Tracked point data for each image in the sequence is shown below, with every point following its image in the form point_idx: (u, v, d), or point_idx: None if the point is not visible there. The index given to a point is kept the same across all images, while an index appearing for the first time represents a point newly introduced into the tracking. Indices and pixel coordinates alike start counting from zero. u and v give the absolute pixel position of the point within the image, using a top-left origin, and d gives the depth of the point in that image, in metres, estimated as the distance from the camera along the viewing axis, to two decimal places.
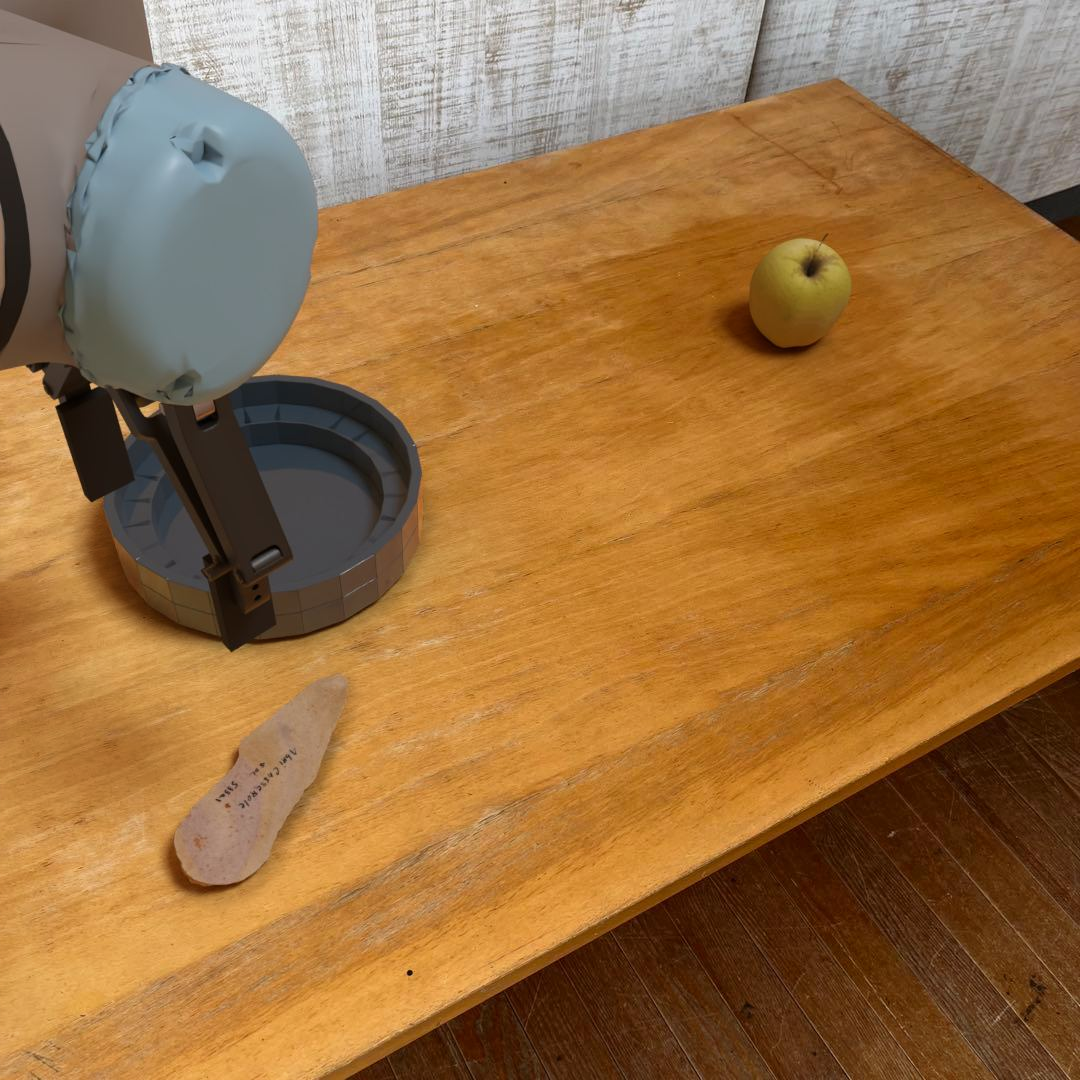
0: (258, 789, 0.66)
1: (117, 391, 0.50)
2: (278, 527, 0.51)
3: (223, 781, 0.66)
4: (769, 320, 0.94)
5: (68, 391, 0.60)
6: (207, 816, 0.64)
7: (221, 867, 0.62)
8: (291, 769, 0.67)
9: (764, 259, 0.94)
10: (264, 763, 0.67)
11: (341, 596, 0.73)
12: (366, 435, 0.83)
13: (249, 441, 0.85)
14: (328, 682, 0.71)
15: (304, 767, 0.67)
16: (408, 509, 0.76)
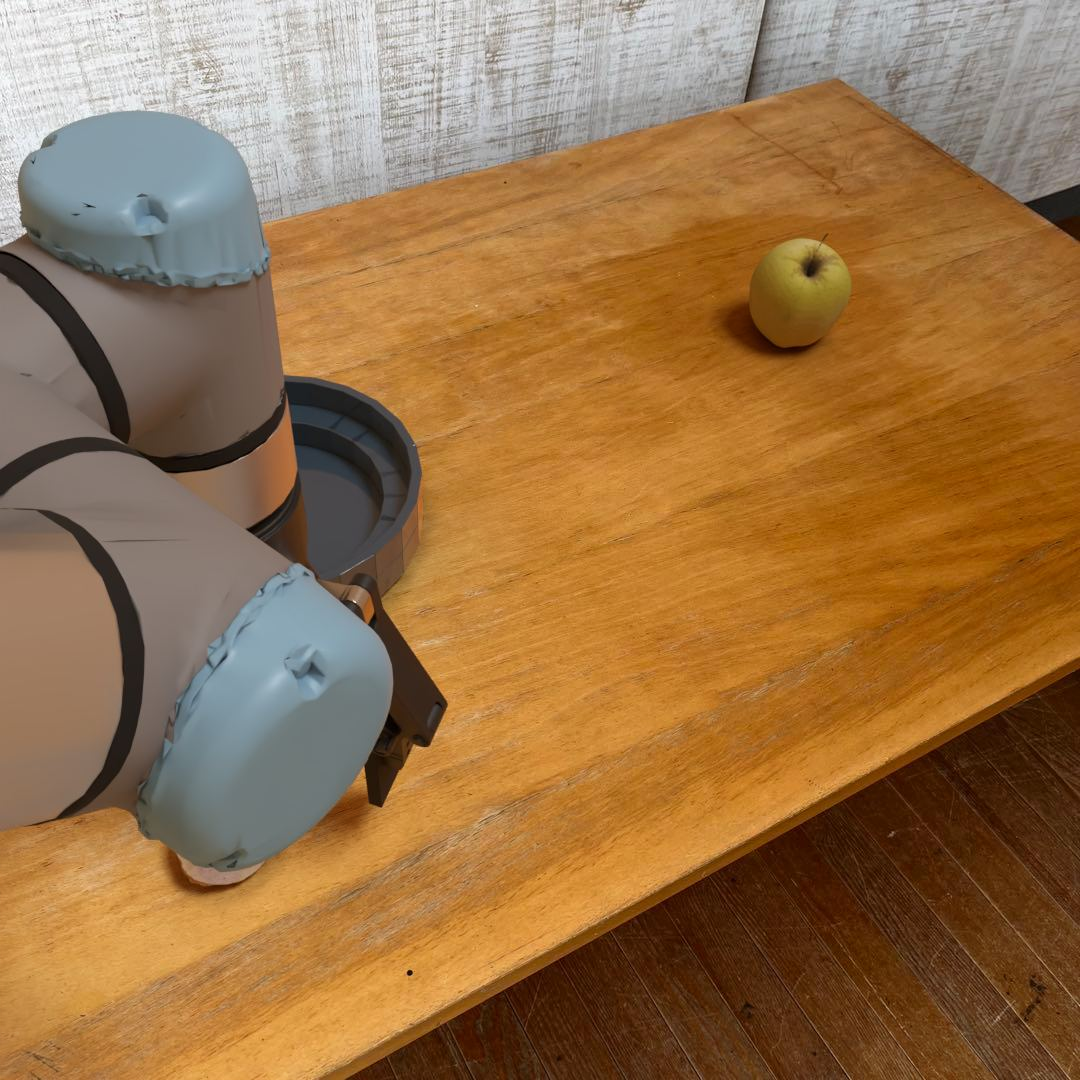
0: None
1: None
2: (434, 686, 0.57)
3: None
4: (769, 320, 0.94)
5: None
6: None
7: None
8: None
9: (764, 259, 0.94)
10: None
11: None
12: (366, 435, 0.83)
13: None
14: None
15: None
16: (408, 509, 0.76)
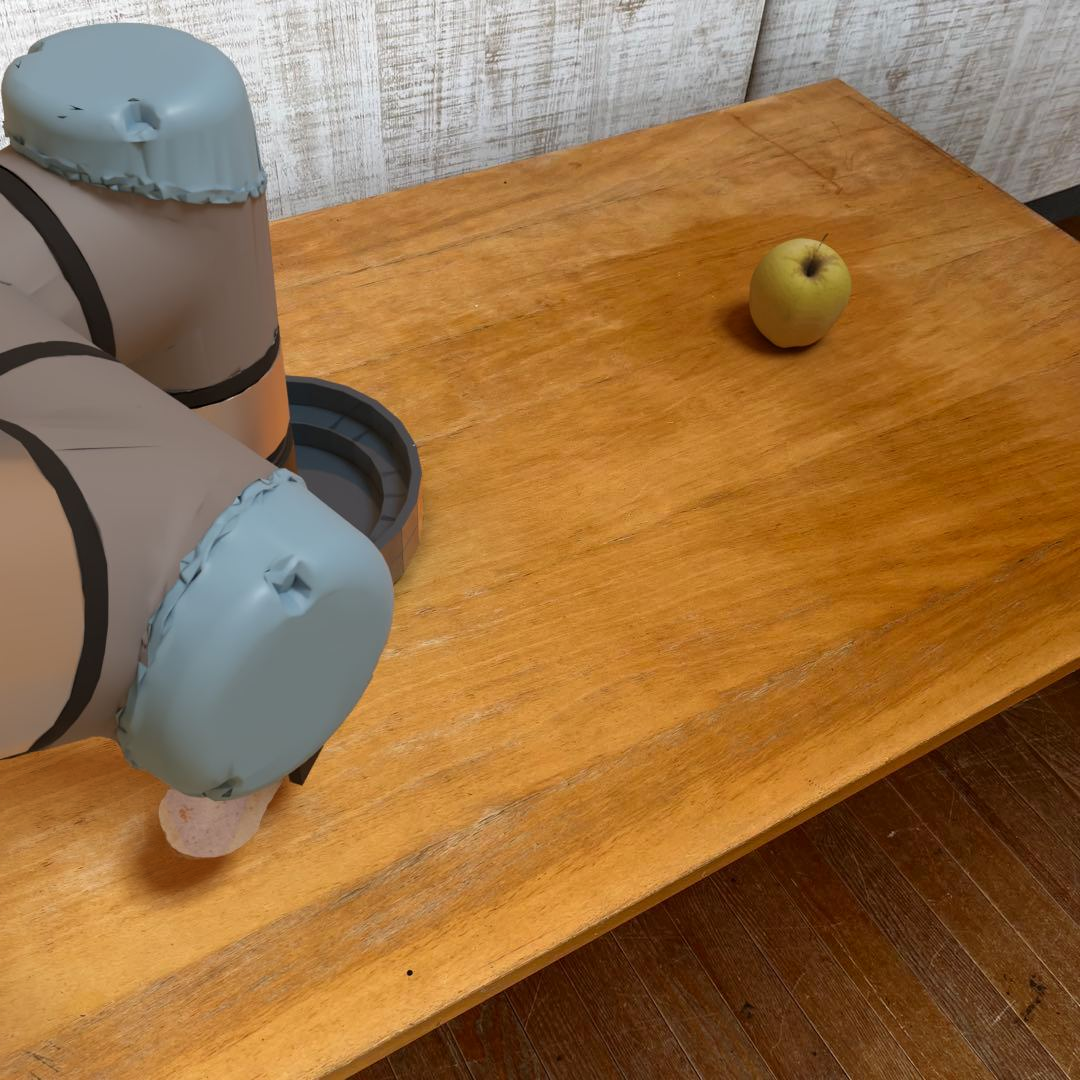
0: None
1: None
2: None
3: None
4: (769, 320, 0.94)
5: None
6: None
7: (208, 840, 0.59)
8: None
9: (764, 259, 0.94)
10: None
11: None
12: (366, 435, 0.83)
13: None
14: None
15: None
16: (408, 509, 0.76)
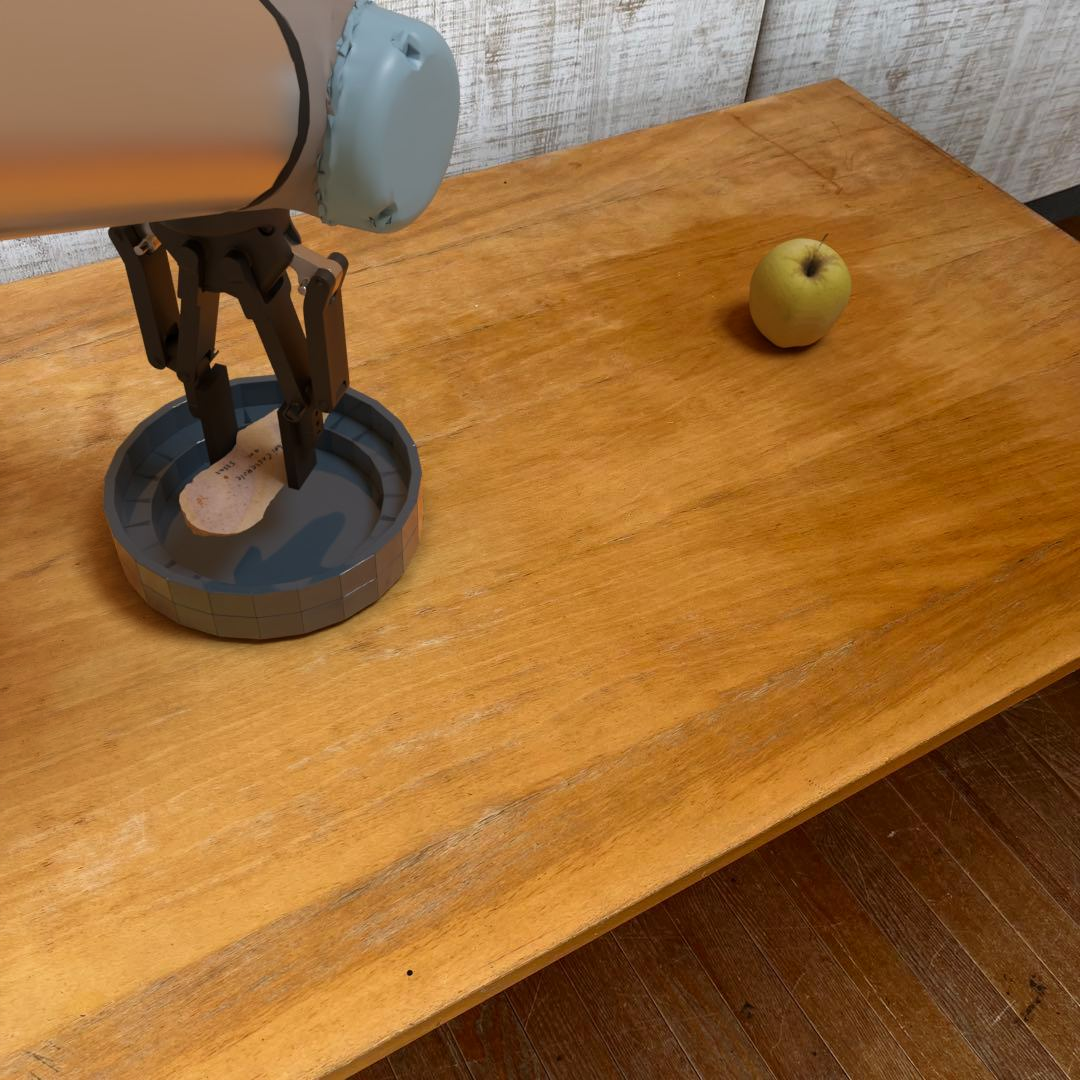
0: (253, 468, 0.75)
1: (251, 287, 0.63)
2: (347, 367, 0.69)
3: (222, 460, 0.75)
4: (769, 320, 0.94)
5: (199, 370, 0.71)
6: (208, 483, 0.73)
7: (220, 521, 0.71)
8: (282, 456, 0.76)
9: (764, 259, 0.94)
10: (258, 449, 0.76)
11: (341, 596, 0.73)
12: (366, 435, 0.83)
13: None
14: None
15: None
16: (408, 509, 0.76)
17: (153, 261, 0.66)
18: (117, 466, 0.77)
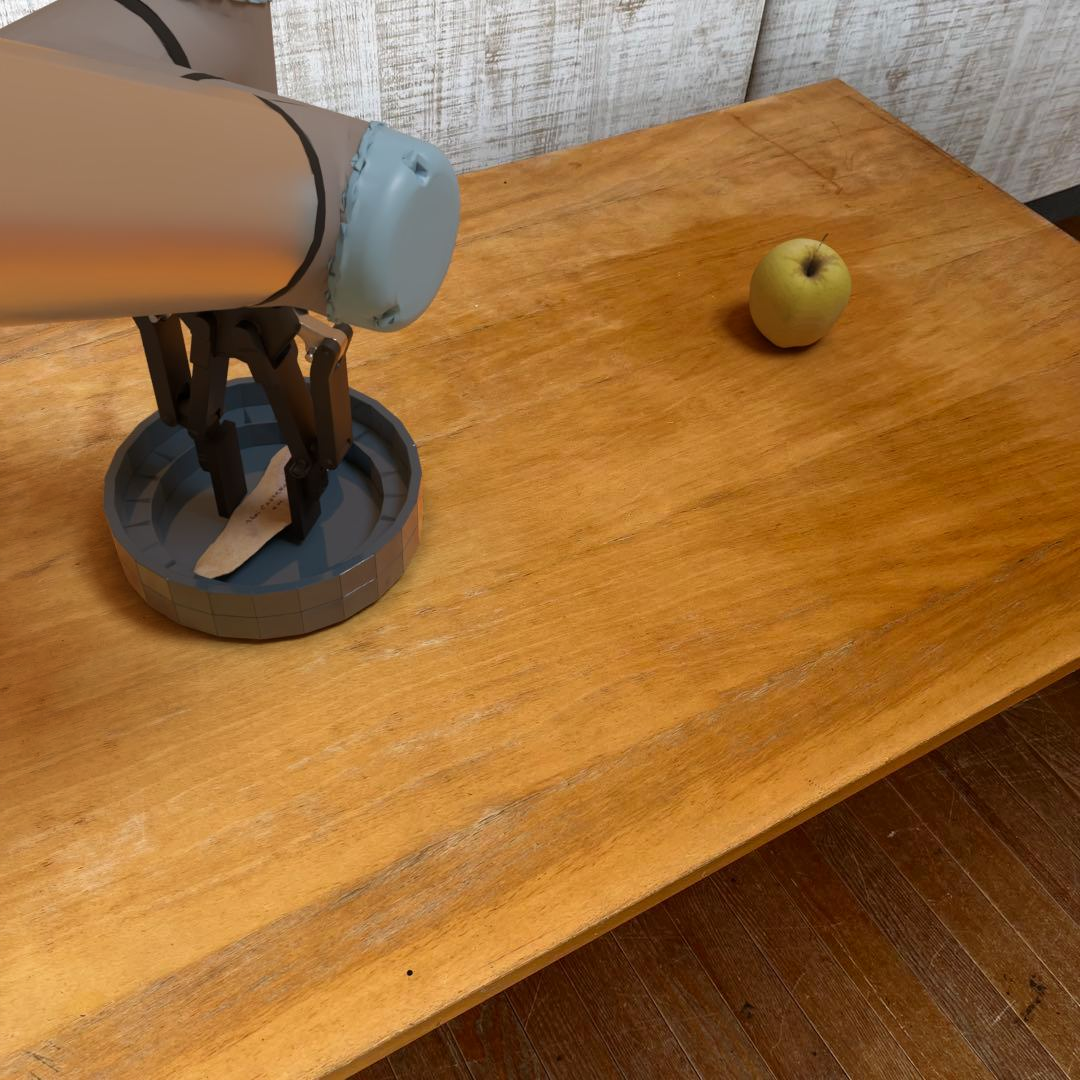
0: (277, 492, 0.80)
1: None
2: None
3: None
4: (769, 320, 0.94)
5: None
6: None
7: None
8: (251, 511, 0.79)
9: (764, 259, 0.94)
10: (272, 509, 0.79)
11: (341, 596, 0.73)
12: (366, 435, 0.83)
13: (249, 441, 0.85)
14: (211, 570, 0.75)
15: (240, 516, 0.79)
16: (408, 509, 0.76)
17: None
18: (117, 466, 0.77)
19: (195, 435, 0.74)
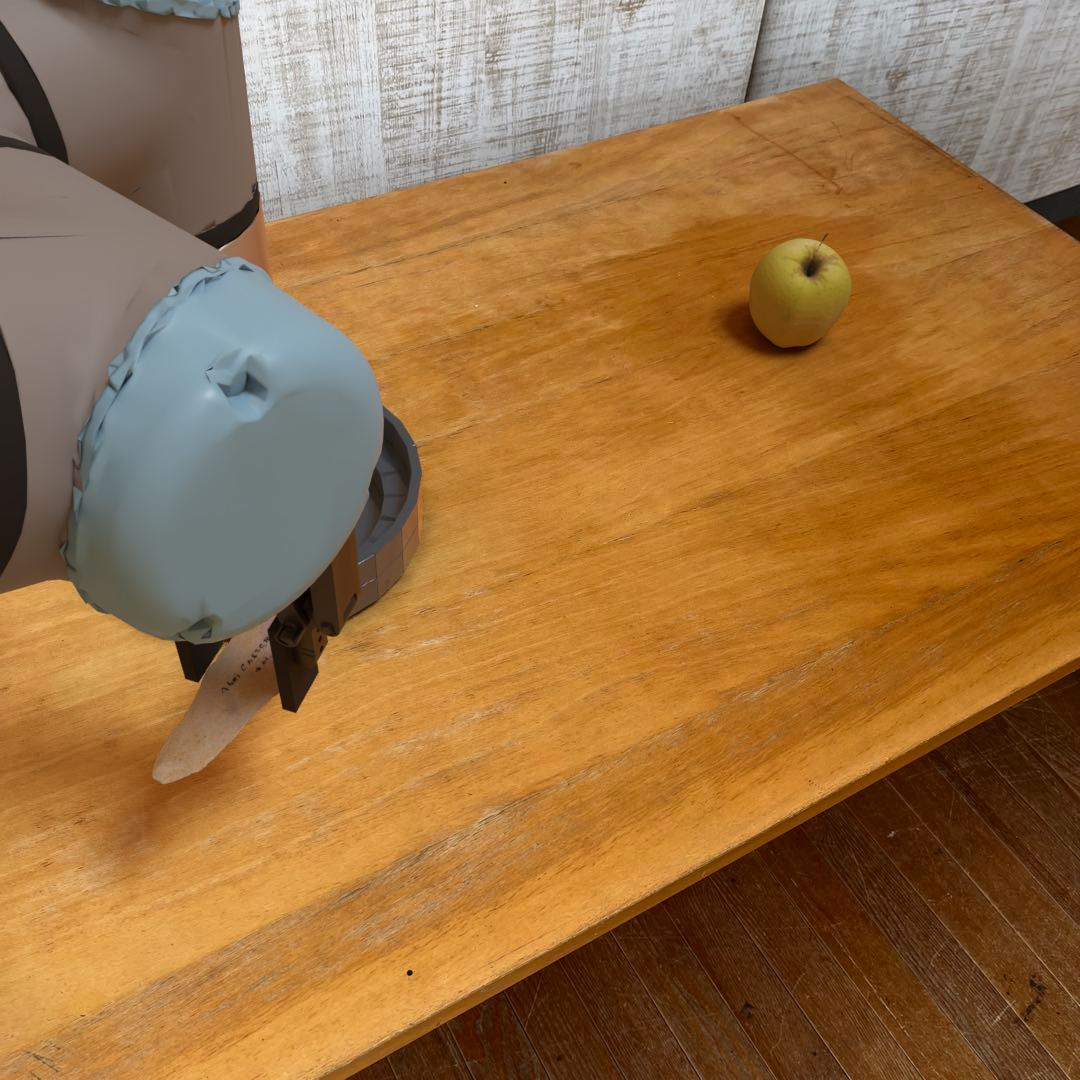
0: (262, 644, 0.61)
1: None
2: None
3: None
4: (769, 320, 0.94)
5: None
6: None
7: None
8: (228, 673, 0.60)
9: (764, 259, 0.94)
10: (255, 670, 0.60)
11: None
12: None
13: None
14: (176, 769, 0.56)
15: (214, 680, 0.60)
16: (408, 509, 0.76)
17: None
18: None
19: None
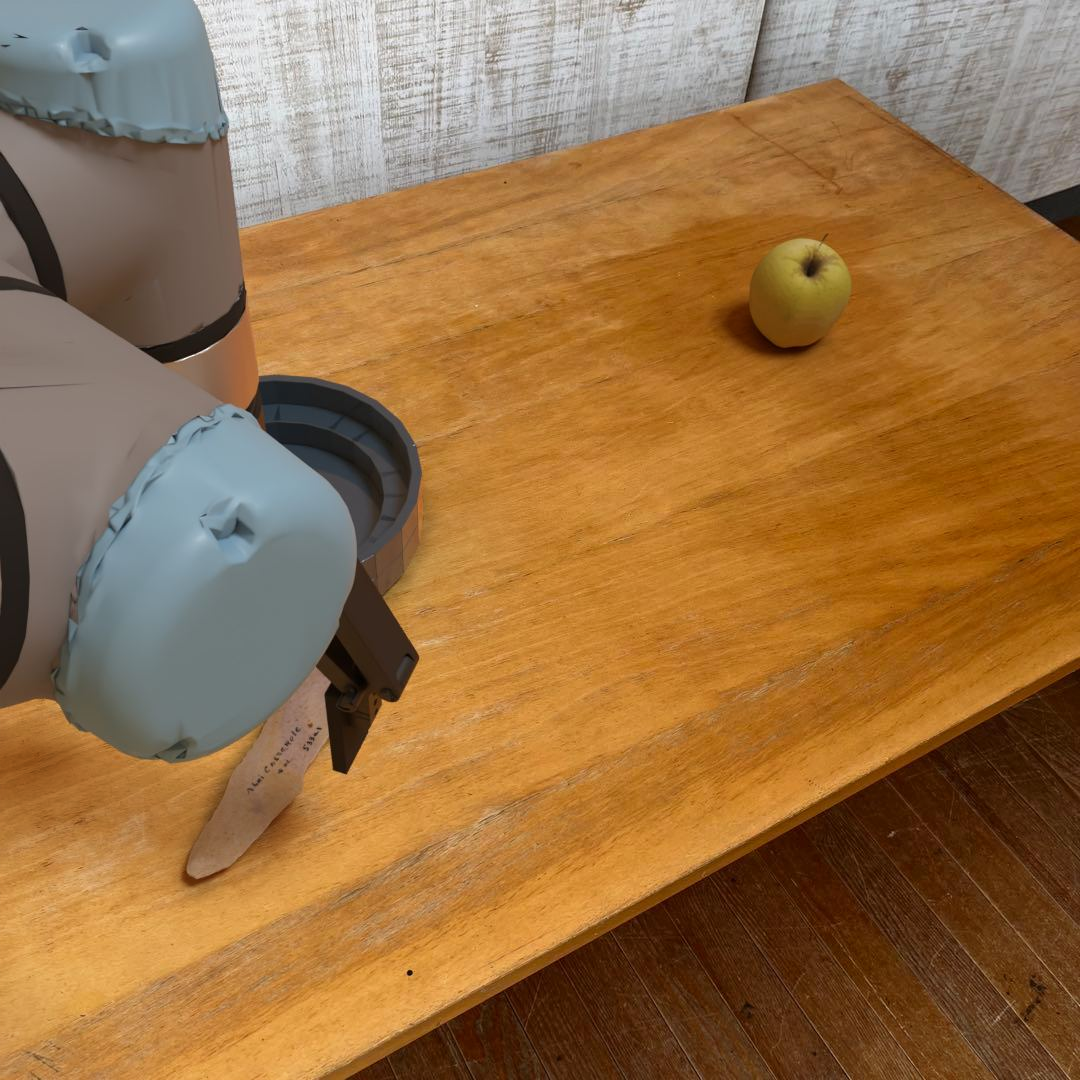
0: (283, 748, 0.68)
1: None
2: None
3: (316, 749, 0.67)
4: (769, 320, 0.94)
5: None
6: None
7: (312, 678, 0.71)
8: (252, 775, 0.67)
9: (764, 259, 0.94)
10: (278, 772, 0.66)
11: None
12: (366, 435, 0.83)
13: None
14: (208, 864, 0.62)
15: (240, 781, 0.67)
16: (408, 509, 0.76)
17: None
18: None
19: None
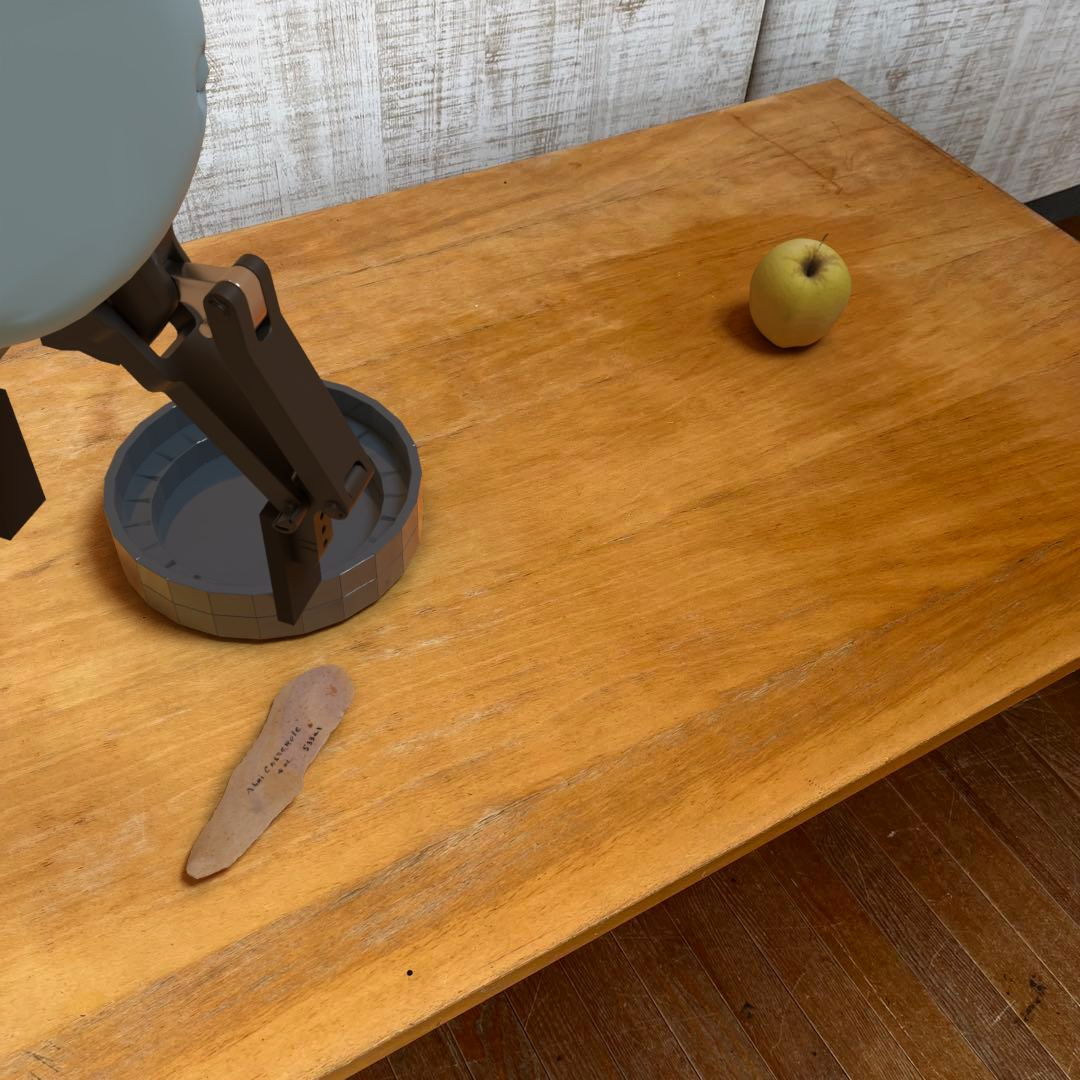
0: (283, 748, 0.68)
1: None
2: None
3: (316, 749, 0.67)
4: (769, 320, 0.94)
5: None
6: (326, 711, 0.69)
7: (312, 678, 0.71)
8: (252, 775, 0.67)
9: (764, 259, 0.94)
10: (278, 772, 0.66)
11: (341, 596, 0.73)
12: (366, 435, 0.83)
13: None
14: (208, 864, 0.62)
15: (240, 781, 0.67)
16: (408, 509, 0.76)
17: None
18: (117, 466, 0.77)
19: None
